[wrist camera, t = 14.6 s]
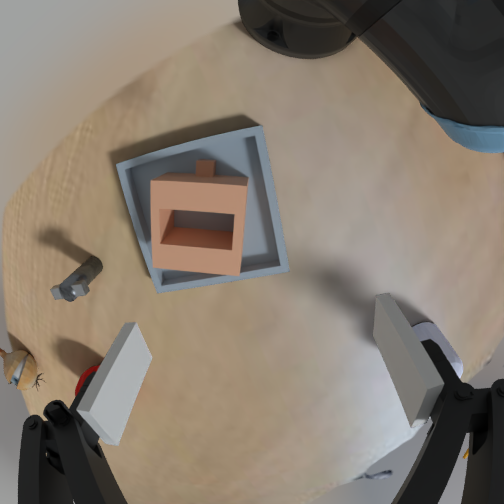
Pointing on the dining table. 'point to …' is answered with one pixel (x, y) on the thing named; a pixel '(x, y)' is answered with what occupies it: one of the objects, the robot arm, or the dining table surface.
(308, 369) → the dining table surface
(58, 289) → the grey t-shaped piece
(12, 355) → the onion
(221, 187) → the ring frame
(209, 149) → the tray
